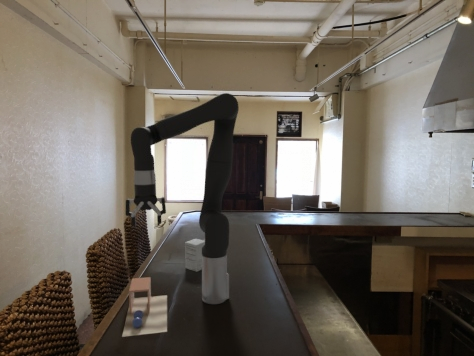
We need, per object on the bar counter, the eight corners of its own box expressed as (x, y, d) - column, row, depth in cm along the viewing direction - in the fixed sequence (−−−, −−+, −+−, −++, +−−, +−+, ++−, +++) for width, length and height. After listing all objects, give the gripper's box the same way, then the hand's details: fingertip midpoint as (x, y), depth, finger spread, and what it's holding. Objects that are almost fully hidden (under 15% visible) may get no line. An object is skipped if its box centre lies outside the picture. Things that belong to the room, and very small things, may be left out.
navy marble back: (141, 316, 107) (141, 307, 106) (144, 320, 104) (144, 311, 104) (132, 318, 105) (132, 310, 105) (135, 323, 102) (134, 314, 102)
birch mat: (130, 301, 119) (130, 298, 119) (167, 297, 121) (167, 295, 121) (122, 340, 95) (122, 336, 95) (167, 334, 98) (167, 331, 98)
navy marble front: (140, 323, 102) (140, 314, 102) (143, 328, 100) (143, 318, 99) (131, 326, 101) (130, 317, 100) (133, 331, 98) (133, 321, 98)
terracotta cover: (132, 299, 118) (132, 278, 117) (151, 297, 119) (150, 277, 118) (129, 313, 108) (129, 290, 107) (149, 311, 109) (149, 289, 109)
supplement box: (195, 263, 156) (195, 238, 154) (207, 267, 151) (207, 240, 150) (184, 268, 150) (184, 241, 148) (196, 272, 145) (196, 244, 144)
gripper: (164, 180, 123) (166, 222, 125) (125, 181, 120) (127, 224, 122) (165, 183, 116) (166, 227, 118) (123, 184, 113) (125, 229, 115)
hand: (146, 225), depth 120 cm, fingers open, 8 cm apart
